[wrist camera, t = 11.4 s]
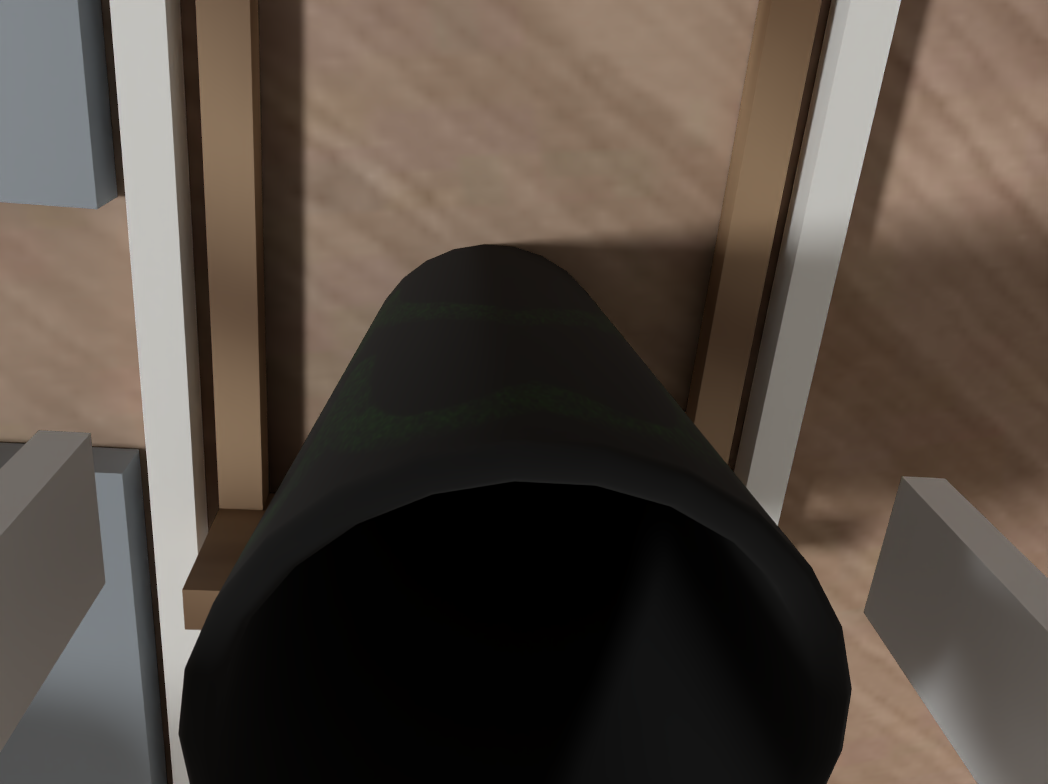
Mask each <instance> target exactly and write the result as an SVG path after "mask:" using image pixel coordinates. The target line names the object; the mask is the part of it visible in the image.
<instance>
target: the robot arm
mask: <svg viewBox="0 0 1048 784" xmlns="http://www.w3.org/2000/svg"><path fill="white" fill-rule="evenodd" d="M105 583H106V582H105V572H104V562H103V552H102V542H101V532H100V522H99V512H98V502H97V492H96V482H95V472H94V462H93V452H92V442H91V433H82V432H63V431H45V430H39V431H38V432H37V433H36V434H35V435H34V436H33V437H32V438H31V439H30V440H29V441H28V442H27V443H26V444H25V445H24V446H23V447H22V448H21V449H20V450H19V451H18V452H17V453H16V454H15V455H14V456H13V457H12V458H11V459H10V460H9V461H8V462H7V463H6V464H5V465H4V466H2V467H1V468H0V752H1V750H2V749H3V747H4V745H5V744H6V742H7V741H8V739H9V737H10V736H11V734H12V733H13V731H14V729H15V728H16V726H17V725H18V723H19V721H20V720H21V718H22V717H23V715H24V713H25V712H26V710H27V708H28V707H29V705H30V704H31V702H32V700H33V699H34V697H35V696H36V694H37V692H38V691H39V689H40V688H41V686H42V684H43V683H44V681H45V680H46V678H47V676H48V675H49V673H50V671H51V670H52V668H53V667H54V665H55V663H56V662H57V660H58V659H59V657H60V655H61V654H62V652H63V651H64V649H65V647H66V646H67V644H68V643H69V641H70V639H71V638H72V636H73V634H74V633H75V631H76V630H77V628H78V626H79V625H80V623H81V622H82V620H83V618H84V617H85V615H86V614H87V612H88V610H89V609H90V607H91V606H92V604H93V602H94V601H95V599H96V598H97V596H98V594H99V593H100V591H101V589H102V588H103V586H104V585H105ZM864 614H865V615H866V617H867V618H868V620H869V621H870V623H871V624H872V626H873V627H874V629H875V630H876V632H877V633H878V635H879V636H880V638H881V639H882V641H883V642H884V644H885V645H886V647H887V648H888V650H889V651H890V653H891V654H892V656H893V657H894V659H895V660H896V662H897V663H898V665H899V666H900V668H901V669H902V671H903V672H904V674H905V675H906V677H907V678H908V680H909V681H910V683H911V684H912V686H913V687H914V689H915V690H916V692H917V693H918V695H919V696H920V698H921V699H922V701H923V702H924V704H925V705H926V707H927V708H928V710H929V711H930V713H931V714H932V716H933V717H934V719H935V720H936V722H937V723H938V725H939V726H940V728H941V729H942V731H943V732H944V734H945V735H946V737H947V738H948V740H949V741H950V743H951V744H952V746H953V747H954V749H955V750H956V752H957V753H958V755H959V756H960V758H961V759H962V761H963V762H964V764H965V765H966V767H967V768H968V770H969V771H970V773H971V774H972V776H973V777H974V779H975V780H976V782H977V783H978V784H1048V578H1047V577H1046V576H1045V575H1044V574H1043V573H1042V572H1041V571H1040V570H1039V569H1038V568H1037V567H1036V566H1035V565H1034V564H1032V563H1031V562H1030V561H1029V560H1028V559H1027V558H1026V557H1025V556H1024V555H1023V554H1022V553H1021V552H1020V551H1019V550H1018V549H1017V548H1016V547H1015V546H1014V545H1013V544H1012V543H1011V542H1010V541H1009V540H1008V539H1007V538H1006V537H1005V536H1004V535H1003V534H1002V533H1001V532H1000V531H999V530H998V529H996V528H995V527H994V526H993V525H992V524H991V523H990V522H989V521H988V520H987V519H986V518H985V517H984V516H983V515H982V514H981V513H980V512H979V511H978V510H977V509H976V508H975V507H974V506H973V505H972V504H971V503H970V502H969V501H968V500H967V499H966V498H965V497H964V496H963V495H962V494H961V493H959V492H958V491H957V490H956V489H955V488H954V487H953V486H952V485H951V484H950V483H949V482H948V481H947V480H946V479H945V478H926V477H908V476H902V477H901V480H900V484H899V488H898V491H897V495H896V498H895V502H894V505H893V509H892V513H891V516H890V520H889V523H888V527H887V530H886V534H885V538H884V541H883V545H882V548H881V552H880V556H879V559H878V563H877V566H876V570H875V573H874V577H873V581H872V584H871V588H870V591H869V595H868V598H867V602H866V606H865V609H864Z"/></svg>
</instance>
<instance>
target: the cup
mask: <svg viewBox="0 0 1048 784" xmlns="http://www.w3.org/2000/svg"><path fill="white" fill-rule="evenodd" d="M851 690H852V688H851V682H850V675H849V669H848V662H847V656H846V649H845V643H844V637H843V630H842V626H841V624H840V622H839V620H838V618H837V616H836V614H835V612H834V610H833V608H832V606H831V604H830V602H829V600H828V598H827V596H826V595H825V593H824V591H823V589H822V587H821V585H820V583H819V581H818V579H817V577H816V575H815V573H814V571H813V569H812V567H811V566H810V565H809V564H808V562H807V561H806V560H805V559H804V557H803V556H802V555H801V554H800V553H799V551H798V550H797V549H796V548H795V546H794V545H793V544H792V543H791V542H790V540H789V539H788V538H787V537H786V535H785V534H784V533H783V532H782V531H781V529H780V528H779V527H778V526H777V524H776V523H775V522H774V521H773V520H772V518H771V517H770V516H769V515H768V513H767V512H766V511H765V510H764V509H763V507H762V506H761V505H760V504H759V502H758V501H757V500H756V499H755V498H754V496H753V495H752V494H751V493H750V491H749V490H748V489H747V488H746V487H745V485H744V484H743V483H742V482H741V480H740V479H739V478H738V477H737V476H736V474H735V473H734V472H733V471H732V469H731V468H730V467H729V466H728V465H727V463H726V462H725V461H724V460H723V458H722V457H721V456H720V455H719V454H718V452H717V451H716V450H715V449H714V447H713V446H712V445H711V444H710V443H709V441H708V440H707V439H706V438H705V436H704V435H703V434H702V433H701V432H700V430H699V429H698V428H697V427H696V425H695V424H694V423H693V422H692V421H691V419H690V418H689V417H688V416H687V414H686V413H685V412H684V411H683V410H682V408H681V407H680V406H679V405H678V403H677V402H676V401H675V400H674V399H673V397H672V396H671V395H670V394H669V392H668V391H667V390H666V389H665V388H664V386H663V385H662V384H661V383H660V381H659V380H658V379H657V378H656V377H655V375H654V374H653V373H652V372H651V370H650V369H649V368H648V367H647V366H646V364H645V363H644V362H643V361H642V359H641V358H640V357H639V356H638V355H637V353H636V352H635V351H634V350H633V348H632V347H631V346H630V345H629V344H628V342H627V341H626V340H625V339H624V337H623V336H622V335H621V334H620V333H619V331H618V330H617V329H616V328H615V326H614V325H613V324H612V323H611V322H610V320H609V319H608V318H607V317H606V315H605V314H604V313H603V312H602V311H601V309H600V308H599V307H598V306H597V304H596V303H595V302H594V301H593V300H592V298H591V297H590V296H589V295H588V293H587V292H586V291H585V290H584V289H583V288H582V287H581V286H580V285H579V284H578V283H577V282H576V281H575V280H574V279H573V278H572V276H571V275H570V274H569V273H568V272H567V271H565V270H564V269H562V268H560V267H559V266H557V265H556V264H554V263H552V262H551V261H549V260H548V259H546V258H544V257H543V256H540V255H537V254H534V253H531V252H528V251H525V250H522V249H519V248H516V247H510V246H497V245H478V246H471V247H465V248H459V249H454V250H451V251H449V252H447V253H444V254H442V255H439V256H437V257H435V258H432V259H430V260H427V261H426V262H424V263H423V264H422V265H420V266H419V267H418V268H416V269H415V270H414V271H412V272H411V273H410V274H408V275H407V276H406V277H404V278H403V279H402V280H401V282H400V283H399V284H398V285H397V286H396V288H395V289H394V290H393V291H392V293H391V294H390V295H389V296H388V298H387V299H386V300H385V302H384V303H383V305H382V307H381V309H380V310H379V312H378V314H377V316H376V317H375V319H374V321H373V323H372V324H371V326H370V328H369V330H368V331H367V333H366V335H365V337H364V338H363V340H362V342H361V344H360V346H359V347H358V349H357V351H356V353H355V354H354V356H353V358H352V360H351V361H350V363H349V365H348V367H347V368H346V370H345V372H344V374H343V375H342V377H341V379H340V381H339V382H338V384H337V386H336V388H335V389H334V391H333V393H332V395H331V397H330V398H329V400H328V402H327V404H326V405H325V407H324V409H323V411H322V412H321V414H320V416H319V418H318V419H317V421H316V423H315V425H314V426H313V428H312V430H311V432H310V433H309V435H308V437H307V439H306V441H305V442H304V444H303V446H302V448H301V449H300V451H299V453H298V455H297V456H296V458H295V460H294V462H293V463H292V465H291V467H290V469H289V470H288V472H287V474H286V476H285V477H284V479H283V481H282V483H281V485H280V486H279V488H278V490H277V492H276V493H275V495H274V497H273V499H272V500H271V502H270V504H269V506H268V507H267V509H266V511H265V513H264V514H263V516H262V518H261V520H260V521H259V523H258V525H257V527H256V528H255V530H254V532H253V534H252V536H251V537H250V539H249V541H248V543H247V544H246V546H245V548H244V550H243V551H242V553H241V555H240V557H239V558H238V560H237V562H236V564H235V565H234V567H233V569H232V571H231V572H230V574H229V576H228V578H227V580H226V581H225V583H224V585H223V587H222V588H221V590H220V592H219V594H218V595H217V597H216V599H215V601H214V602H213V604H212V607H211V609H210V611H209V614H208V616H207V618H206V620H205V623H204V625H203V627H202V630H201V632H200V634H199V637H198V639H197V641H196V643H195V646H194V648H193V650H192V653H191V655H190V657H189V659H188V662H187V664H186V666H185V669H184V679H183V690H182V700H181V710H180V721H179V731H178V735H179V740H180V744H181V748H182V753H183V757H184V761H185V766H186V770H187V774H188V779H189V783H190V784H827V781H828V779H829V777H830V775H831V773H832V771H833V769H834V766H835V764H836V762H837V760H838V758H839V756H840V753H841V751H842V748H843V741H844V735H845V729H846V722H847V716H848V709H849V703H850V696H851Z"/></svg>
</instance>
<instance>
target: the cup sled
mask: <svg viewBox="0 0 1048 784" xmlns="http://www.w3.org/2000/svg"><path fill="white" fill-rule="evenodd" d="M195 2H196V23H197V44H198V65H199V87H200V108H201V129H202V151H203V172H204V193H205V214H206V236H207V257H208V278H209V300H210V321H211V342H212V363H213V385H214V406H215V427H216V449H217V470H218V491H219V510H218V512H217V515H216V517H215V519H214V521H213V523H212V525H211V528H210V530H209V532H208V534H207V536H206V539H205V541H204V543H203V545H202V547H201V549H200V552H199V554H198V556H197V558H196V560H195V563H194V565H193V567H192V569H191V571H190V574H189V576H188V578H187V580H186V582H185V584H184V587H183V589H182V596H183V610H184V625H185V630H202V627H203V625H204V623H205V620H206V618H207V616H208V614H209V611H210V609H211V607H212V604H213V602H214V601H215V599H216V597H217V595H218V594H219V592H220V590H221V588H222V587H223V585H224V583H225V581H226V580H227V578H228V576H229V574H230V572H231V571H232V569H233V567H234V565H235V564H236V562H237V560H238V558H239V557H240V555H241V553H242V551H243V550H244V548H245V546H246V544H247V543H248V541H249V539H250V537H251V536H252V534H253V532H254V530H255V528H256V527H257V525H258V523H259V521H260V520H261V518H262V516H263V514H264V513H265V511H266V509H267V507H268V506H269V504H270V502H271V500H272V499H273V497H274V495H275V494H274V493H269V472H268V426H267V381H266V335H265V290H264V244H263V199H262V153H261V107H260V62H259V16H258V0H195ZM821 2H822V0H759V5H758V10H757V16H756V21H755V27H754V33H753V38H752V44H751V49H750V55H749V61H748V66H747V72H746V77H745V83H744V89H743V94H742V100H741V106H740V111H739V117H738V122H737V128H736V134H735V139H734V145H733V150H732V156H731V162H730V167H729V173H728V179H727V184H726V190H725V195H724V201H723V207H722V212H721V218H720V223H719V229H718V235H717V240H716V246H715V251H714V257H713V263H712V268H711V274H710V280H709V285H708V291H707V296H706V302H705V308H704V313H703V319H702V324H701V330H700V336H699V341H698V347H697V352H696V358H695V364H694V369H693V375H692V381H691V386H690V392H689V397H688V403H687V409H686V414H687V416H688V417H689V418H690V419H691V421H692V422H693V423H694V424H695V425H696V427H697V428H698V429H699V430H700V432H701V433H702V434H703V435H704V436H705V438H706V439H707V440H708V441H709V443H710V444H711V445H712V446H713V447H714V449H715V450H716V451H717V452H718V454H719V455H720V456H721V457H722V458H723V460H724V461H725V462H726V463H727V465H728V460H729V455H730V450H731V445H732V440H733V435H734V430H735V426H736V421H737V416H738V411H739V406H740V401H741V396H742V391H743V386H744V381H745V376H746V371H747V367H748V362H749V357H750V352H751V347H752V342H753V337H754V332H755V327H756V322H757V317H758V312H759V307H760V303H761V298H762V293H763V288H764V283H765V278H766V273H767V268H768V263H769V258H770V253H771V248H772V244H773V239H774V234H775V229H776V224H777V219H778V214H779V209H780V204H781V199H782V194H783V189H784V184H785V180H786V175H787V170H788V165H789V160H790V155H791V150H792V145H793V140H794V135H795V130H796V125H797V121H798V116H799V111H800V106H801V101H802V96H803V91H804V86H805V81H806V76H807V71H808V66H809V61H810V57H811V52H812V47H813V42H814V37H815V32H816V27H817V22H818V17H819V12H820V7H821Z"/></svg>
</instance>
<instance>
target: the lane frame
mask: <svg viewBox="0 0 1048 784" xmlns="http://www.w3.org/2000/svg"><path fill="white" fill-rule="evenodd" d="M900 3H901V0H831V5H830V10H829V15H828V20H827V25H826V29H825V34H824V39H823V44H822V49H821V54H820V58H819V63H818V68H817V73H816V78H815V82H814V87H813V92H812V97H811V102H810V107H809V111H808V116H807V121H806V126H805V131H804V136H803V140H802V145H801V150H800V155H799V160H798V165H797V169H796V174H795V179H794V184H793V189H792V194H791V198H790V203H789V208H788V213H787V218H786V223H785V227H784V232H783V237H782V242H781V247H780V252H779V256H778V261H777V266H776V271H775V276H774V281H773V285H772V290H771V295H770V300H769V305H768V309H767V314H766V319H765V324H764V329H763V334H762V338H761V343H760V348H759V353H758V358H757V363H756V367H755V372H754V377H753V382H752V387H751V392H750V396H749V401H748V406H747V411H746V416H745V421H744V425H743V430H742V435H741V440H740V445H739V450H738V454H737V459H736V464H735V469H734V473H735V474H736V476H737V477H738V478H739V479H740V480H741V482H742V483H743V484H744V485H745V487H746V488H747V489H748V490H749V491H750V493H751V494H752V495H753V496H754V498H755V499H756V500H757V501H758V502H759V504H760V505H761V506H762V507H763V509H764V510H765V511H766V512H767V513H768V515H769V516H770V517H771V518H772V520H773V521H774V522H775V523H776V524H777V526H778V522H779V518H780V514H781V510H782V505H783V501H784V497H785V493H786V488H787V484H788V480H789V475H790V471H791V467H792V463H793V458H794V454H795V450H796V446H797V441H798V437H799V433H800V429H801V424H802V420H803V416H804V412H805V407H806V403H807V399H808V395H809V390H810V386H811V382H812V378H813V373H814V369H815V365H816V361H817V356H818V352H819V348H820V343H821V339H822V335H823V331H824V326H825V322H826V318H827V314H828V309H829V305H830V301H831V297H832V292H833V288H834V284H835V280H836V275H837V271H838V267H839V263H840V258H841V254H842V250H843V246H844V241H845V237H846V233H847V229H848V224H849V220H850V216H851V211H852V207H853V203H854V199H855V194H856V190H857V186H858V182H859V177H860V173H861V169H862V165H863V160H864V156H865V152H866V148H867V143H868V139H869V135H870V131H871V126H872V122H873V118H874V114H875V109H876V105H877V101H878V97H879V92H880V88H881V84H882V79H883V75H884V71H885V67H886V62H887V58H888V54H889V50H890V45H891V41H892V37H893V33H894V28H895V24H896V20H897V16H898V11H899V7H900ZM110 12H111V25H112V37H113V49H114V62H115V74H116V86H117V98H118V111H119V123H120V135H121V148H122V160H123V172H124V185H125V197H126V209H127V221H128V234H129V246H130V258H131V271H132V283H133V295H134V308H135V320H136V332H137V344H138V357H139V369H140V381H141V394H142V406H143V418H144V431H145V443H146V455H147V467H148V480H149V492H150V504H151V517H152V529H153V541H154V554H155V566H156V578H157V590H158V603H159V615H160V627H161V640H162V652H163V664H164V677H165V689H166V701H167V713H168V726H169V738H170V750H171V763H172V775H173V784H190V783H189V779H188V774H187V770H186V766H185V761H184V757H183V753H182V748H181V744H180V740H179V735H178V731H179V721H180V710H181V700H182V690H183V679H184V669H185V666H186V664H187V662H188V659H189V657H190V655H191V653H192V650H193V648H194V646H195V643H196V641H197V639H198V637H199V634H200V632H201V630H185V625H184V610H183V596H182V589H183V587H184V584H185V582H186V580H187V578H188V576H189V574H190V571H191V569H192V567H193V565H194V563H195V560H196V558H197V556H198V554H199V552H200V549H201V547H202V545H203V543H204V541H205V539H206V536H207V534H208V518H207V500H206V481H205V462H204V443H203V424H202V406H201V387H200V368H199V349H198V330H197V312H196V293H195V274H194V255H193V236H192V218H191V199H190V180H189V161H188V142H187V123H186V105H185V86H184V67H183V48H182V29H181V11H180V0H110ZM24 445H25V444H19V443H0V468H1V467H2V466H4V465H5V464H6V463H7V462H8V461H9V460H10V459H11V458H12V457H13V456H14V455H15V454H16V453H17V452H18V451H19V450H20V449H21V448H22V447H23V446H24ZM92 452H93V462H94V472H95V482H96V492H97V502H98V512H99V522H100V532H101V542H102V552H103V562H104V572H105V582H106V583H105V585H104V586H103V588H102V589H101V591H100V593H99V594H98V596H97V598H96V599H95V601H94V602H93V604H92V606H91V607H90V609H89V610H88V612H87V614H86V615H85V617H84V618H83V620H82V622H81V623H80V625H79V626H78V628H77V630H76V631H75V633H74V634H73V636H72V638H71V639H70V641H69V643H68V644H67V646H66V647H65V649H64V651H63V652H62V654H61V655H60V657H59V659H58V660H57V662H56V663H55V665H54V667H53V668H52V670H51V671H50V673H49V675H48V676H47V678H46V680H45V681H44V683H43V684H42V686H41V688H40V689H39V691H38V692H37V694H36V696H35V697H34V699H33V700H32V702H31V704H30V705H29V707H28V708H27V710H26V712H25V713H24V715H23V717H22V718H21V720H20V721H19V723H18V725H17V726H16V728H15V729H14V731H13V733H12V734H11V736H10V737H9V739H8V741H7V742H6V744H5V745H4V747H3V749H2V750H1V752H0V784H167V774H166V762H165V751H164V739H163V727H162V715H161V703H160V692H159V680H158V668H157V656H156V644H155V633H154V621H153V609H152V597H151V585H150V574H149V562H148V550H147V538H146V526H145V515H144V503H143V491H142V479H141V467H140V456H139V449H122V448H101V447H92Z"/></svg>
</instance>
